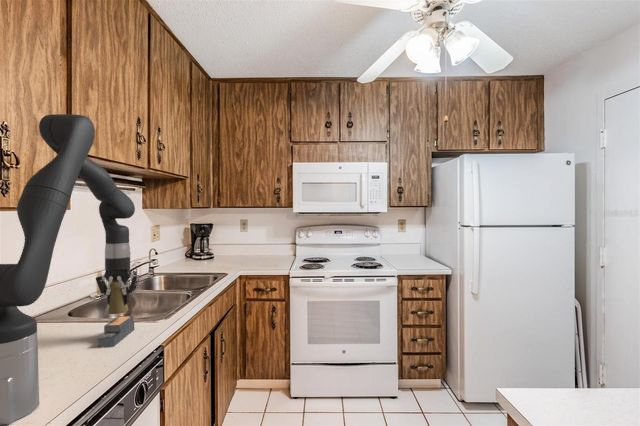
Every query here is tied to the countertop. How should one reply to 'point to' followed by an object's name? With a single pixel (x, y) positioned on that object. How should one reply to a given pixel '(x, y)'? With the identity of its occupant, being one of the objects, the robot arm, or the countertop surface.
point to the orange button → (119, 321)
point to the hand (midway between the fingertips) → (118, 304)
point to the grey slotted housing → (116, 332)
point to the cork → (117, 299)
